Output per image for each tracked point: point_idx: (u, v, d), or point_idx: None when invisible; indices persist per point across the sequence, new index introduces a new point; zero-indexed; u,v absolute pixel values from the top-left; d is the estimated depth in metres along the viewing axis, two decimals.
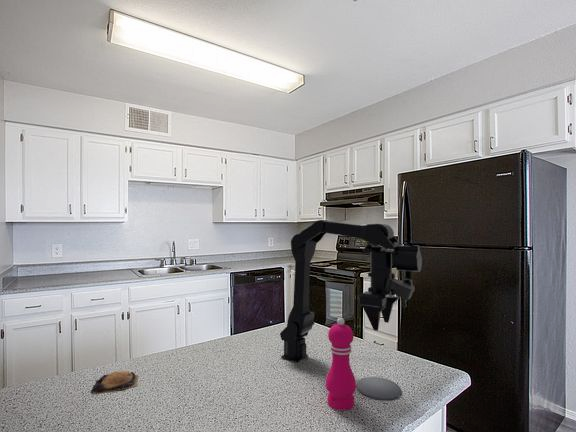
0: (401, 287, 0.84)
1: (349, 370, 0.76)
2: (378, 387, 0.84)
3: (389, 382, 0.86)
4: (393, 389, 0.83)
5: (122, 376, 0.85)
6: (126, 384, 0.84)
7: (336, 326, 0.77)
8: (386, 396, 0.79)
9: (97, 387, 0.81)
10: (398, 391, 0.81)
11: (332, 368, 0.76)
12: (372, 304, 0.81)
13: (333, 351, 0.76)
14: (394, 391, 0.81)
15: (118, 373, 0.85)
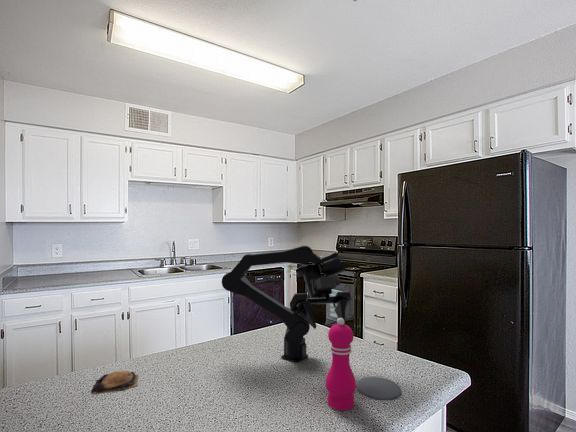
0: (317, 280, 0.96)
1: (349, 370, 0.76)
2: (378, 387, 0.84)
3: (389, 382, 0.86)
4: (393, 389, 0.83)
5: (122, 376, 0.85)
6: (126, 384, 0.84)
7: (336, 326, 0.77)
8: (386, 396, 0.79)
9: (97, 387, 0.82)
10: (398, 391, 0.81)
11: (332, 368, 0.76)
12: (293, 303, 0.94)
13: (333, 351, 0.76)
14: (394, 391, 0.81)
15: (118, 373, 0.85)
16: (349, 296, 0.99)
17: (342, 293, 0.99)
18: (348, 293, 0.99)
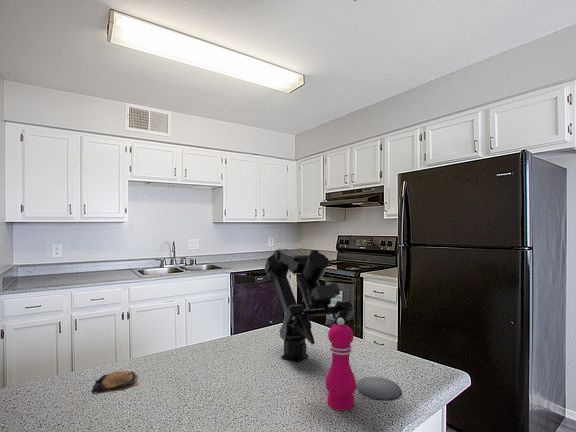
0: (314, 290, 0.86)
1: (349, 370, 0.76)
2: (378, 387, 0.84)
3: (389, 382, 0.86)
4: (393, 389, 0.83)
5: (123, 376, 0.85)
6: (127, 383, 0.84)
7: (336, 326, 0.77)
8: (386, 396, 0.79)
9: (98, 387, 0.82)
10: (398, 391, 0.81)
11: (332, 368, 0.76)
12: (288, 316, 0.84)
13: (333, 351, 0.76)
14: (394, 391, 0.81)
15: (118, 373, 0.85)
16: (350, 306, 0.89)
17: (342, 303, 0.89)
18: (349, 303, 0.90)
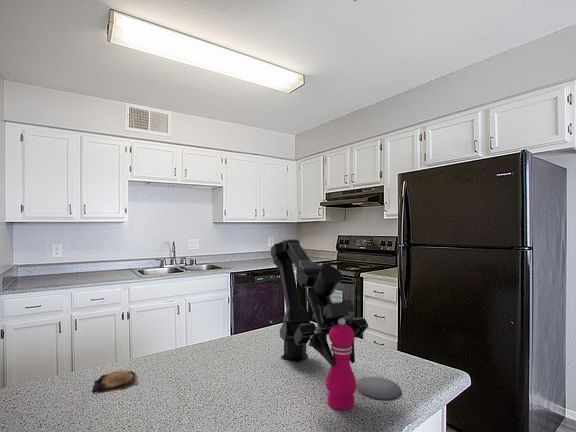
0: (327, 307, 0.79)
1: (349, 370, 0.76)
2: (378, 387, 0.84)
3: (389, 382, 0.86)
4: (393, 389, 0.83)
5: (123, 375, 0.85)
6: (128, 382, 0.85)
7: (337, 326, 0.77)
8: (386, 396, 0.79)
9: (99, 387, 0.82)
10: (398, 391, 0.81)
11: (332, 368, 0.76)
12: (299, 336, 0.78)
13: (334, 351, 0.76)
14: (394, 391, 0.81)
15: (119, 372, 0.86)
16: (365, 324, 0.82)
17: (356, 321, 0.82)
18: (363, 320, 0.83)
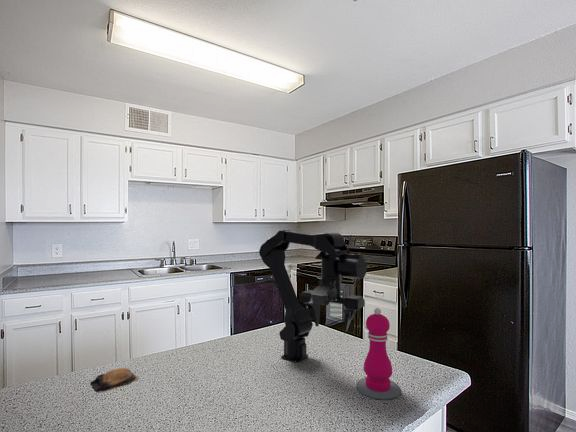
0: None
1: None
2: None
3: None
4: (393, 389, 0.83)
5: (124, 372, 0.87)
6: (130, 378, 0.87)
7: (376, 316, 0.84)
8: (386, 396, 0.79)
9: (103, 385, 0.82)
10: (398, 391, 0.81)
11: (374, 355, 0.83)
12: None
13: (375, 339, 0.83)
14: (394, 391, 0.81)
15: (118, 370, 0.87)
16: (353, 308, 0.89)
17: (346, 303, 0.90)
18: (353, 304, 0.89)
